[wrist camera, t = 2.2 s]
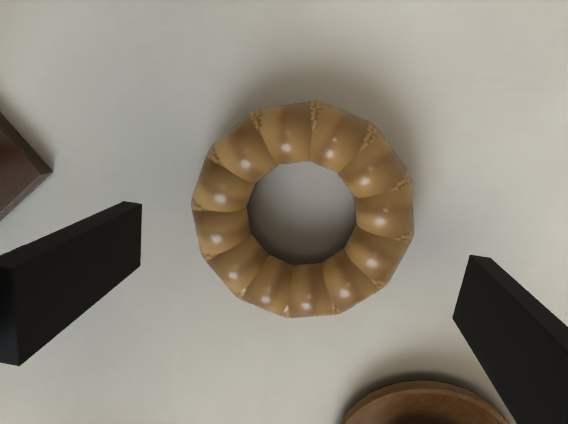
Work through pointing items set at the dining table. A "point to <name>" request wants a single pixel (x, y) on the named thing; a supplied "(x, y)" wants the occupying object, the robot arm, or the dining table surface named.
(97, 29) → the dining table surface
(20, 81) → the dining table surface
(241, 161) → the segmented ring
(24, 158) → the peg
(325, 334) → the dining table surface
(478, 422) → the place setting
